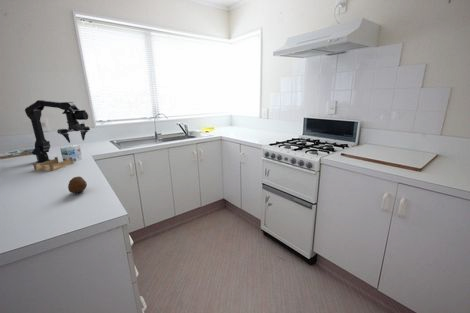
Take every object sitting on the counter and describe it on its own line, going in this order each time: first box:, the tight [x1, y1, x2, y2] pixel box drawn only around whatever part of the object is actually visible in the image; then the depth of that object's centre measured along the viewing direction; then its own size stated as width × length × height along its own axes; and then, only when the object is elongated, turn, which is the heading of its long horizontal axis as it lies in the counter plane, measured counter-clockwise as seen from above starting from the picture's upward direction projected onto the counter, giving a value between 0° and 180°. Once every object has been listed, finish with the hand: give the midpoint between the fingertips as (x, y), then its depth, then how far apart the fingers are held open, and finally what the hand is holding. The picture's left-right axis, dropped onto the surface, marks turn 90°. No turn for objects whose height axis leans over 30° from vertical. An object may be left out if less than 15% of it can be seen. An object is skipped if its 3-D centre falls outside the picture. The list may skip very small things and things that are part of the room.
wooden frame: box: [32, 156, 74, 172], centre depth 150 cm, size 13×16×5 cm
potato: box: [67, 176, 87, 194], centre depth 107 cm, size 7×10×8 cm
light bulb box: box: [59, 144, 83, 163], centre depth 164 cm, size 11×7×11 cm, turn 168°
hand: (76, 141), depth 162 cm, fingers open, 9 cm apart
